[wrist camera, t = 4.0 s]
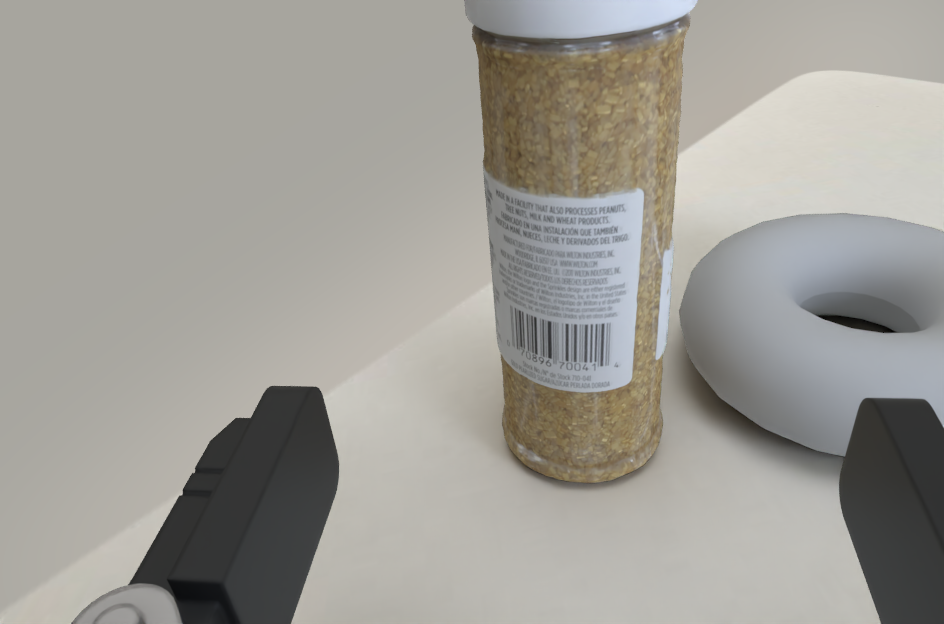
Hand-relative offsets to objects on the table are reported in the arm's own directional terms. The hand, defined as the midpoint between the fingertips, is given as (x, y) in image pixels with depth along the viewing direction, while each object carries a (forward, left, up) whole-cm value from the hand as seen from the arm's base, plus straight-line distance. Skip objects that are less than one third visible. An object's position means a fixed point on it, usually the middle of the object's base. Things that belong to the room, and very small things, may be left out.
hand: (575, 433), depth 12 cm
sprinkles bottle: (0, +8, -7) cm, 10 cm away
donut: (+8, +10, -7) cm, 15 cm away
